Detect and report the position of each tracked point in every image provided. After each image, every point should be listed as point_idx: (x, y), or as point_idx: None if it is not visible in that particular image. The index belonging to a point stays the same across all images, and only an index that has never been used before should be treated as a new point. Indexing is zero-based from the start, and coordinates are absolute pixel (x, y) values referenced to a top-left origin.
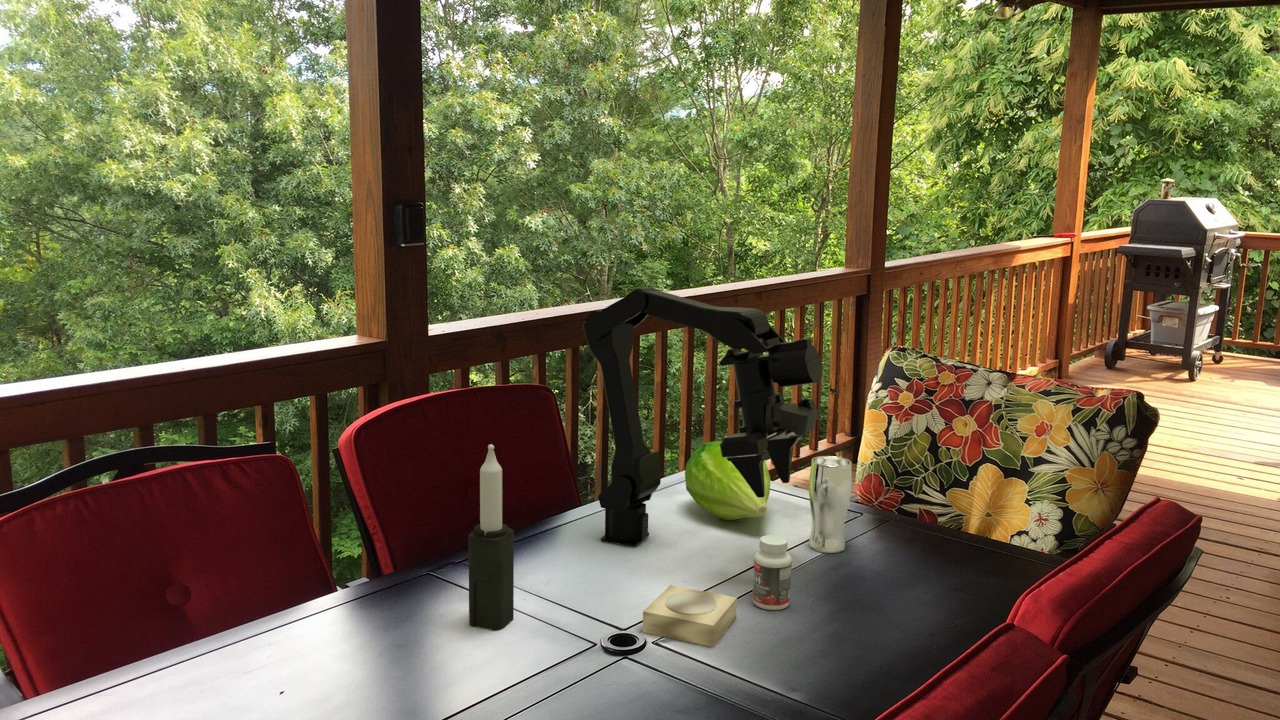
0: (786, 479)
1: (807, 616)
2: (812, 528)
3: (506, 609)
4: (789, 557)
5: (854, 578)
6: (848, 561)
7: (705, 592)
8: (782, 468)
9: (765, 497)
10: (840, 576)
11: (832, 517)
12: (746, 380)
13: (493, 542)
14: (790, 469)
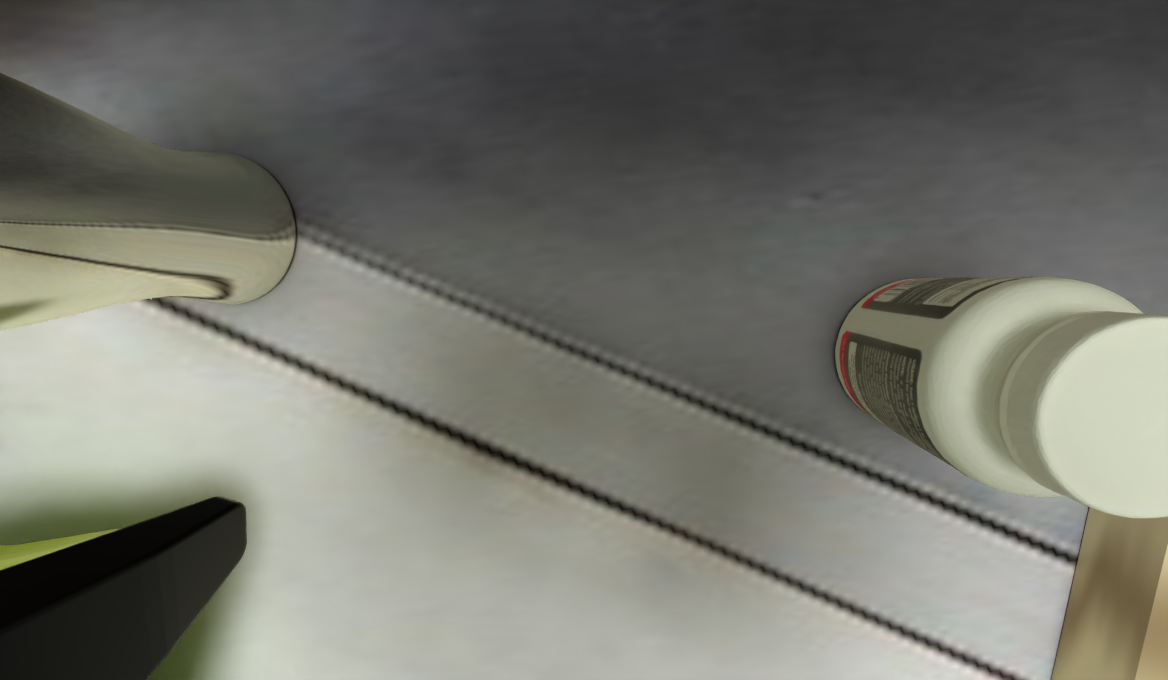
0: (218, 537)
1: (996, 190)
2: (190, 290)
3: None
4: (1070, 290)
5: (522, 66)
6: (348, 119)
7: (1154, 628)
8: (86, 664)
9: (8, 565)
10: (522, 126)
11: (152, 177)
12: None
13: None
14: (59, 557)
